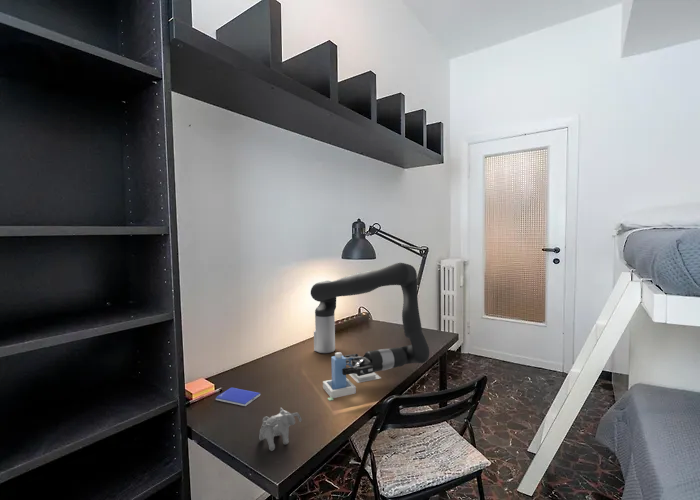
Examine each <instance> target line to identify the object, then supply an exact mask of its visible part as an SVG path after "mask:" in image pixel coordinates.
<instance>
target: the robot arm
mask: <svg viewBox="0 0 700 500" xmlns="http://www.w3.org/2000/svg"><path fill="white" fill-rule="evenodd" d="M387 286H400V287H401V292H402V297H403V303H402V310H401V311H402V313H401V319H402V326H403V332H404V336H405V338H406V339H409V341H410V344H408V345H404V346H400V347H391V348H381V349H375V350H369V351H366V352H365V353H364V354H363V356H360V355H359V354H358V353H351V354H345V355H343V356H344V357H345V358H346V368H343V369H342V374H343V375H346V376H347V375H349V374H357V376H361V375H366V374H371V373H373V372H375V373H377V372H382V371H387V370H390V369H394V368H398V367H403V366H404V365H408V364H425V363H426V362H428V360H429V357H430V347H429V344H428V342H427V339H426V337H425V334H424V333H423V328H422V323H421V322H422V321H421V316H420V309H419V301H418V300H419V299H418V273H417V270H416V268H415V267H414V266H413V265H411V264H408V263H405V262H396V263H393V264H391V265H388V266H385V267H382V268H379V269H374V270H373V269H372V270H367V271H361V272H358V273H357V272H356V273H352V274H350V275H347V276H346V275H345V276H343V277H341V278H339V279H336V280H332V281H331V280H322V281H319V282H316V283H314V284H313V285H312V287H311V289H310V296H311V298H312V299H313V300H314V301H316V302H319V305H318V306H317V307H316V308H315V310H314V319H315V321H314V322H315V323H314V325H315V327H314V328H315V329H314V330H313V351H314V352H317V353H319V354H330V353H334V351H336V334H335V333H336V325H335V323H336V321H335V320H336V319H335V311H336V308H337V298H338V297H346V296H347V297H348V296H349V297H350V296H355V295H362V294H369V293H371V292H373V291H374V290H376V289H379V288H381V287H387ZM347 366H348V367H347ZM362 371H363V372H362ZM361 372H362V373H361Z"/></svg>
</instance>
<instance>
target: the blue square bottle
mask: <svg viewBox="0 0 700 500" xmlns="http://www.w3.org/2000/svg"><path fill="white" fill-rule="evenodd" d="M343 368H347V365H346V358H345V357H344V355H343V353H342V352H340V351H339V352H335V353H334V355H333V356H331V380H332V387H331V388H332V389H333V390H335V389H340V388H345V387H346V377H347V375H343V374H342V369H343Z"/></svg>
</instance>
